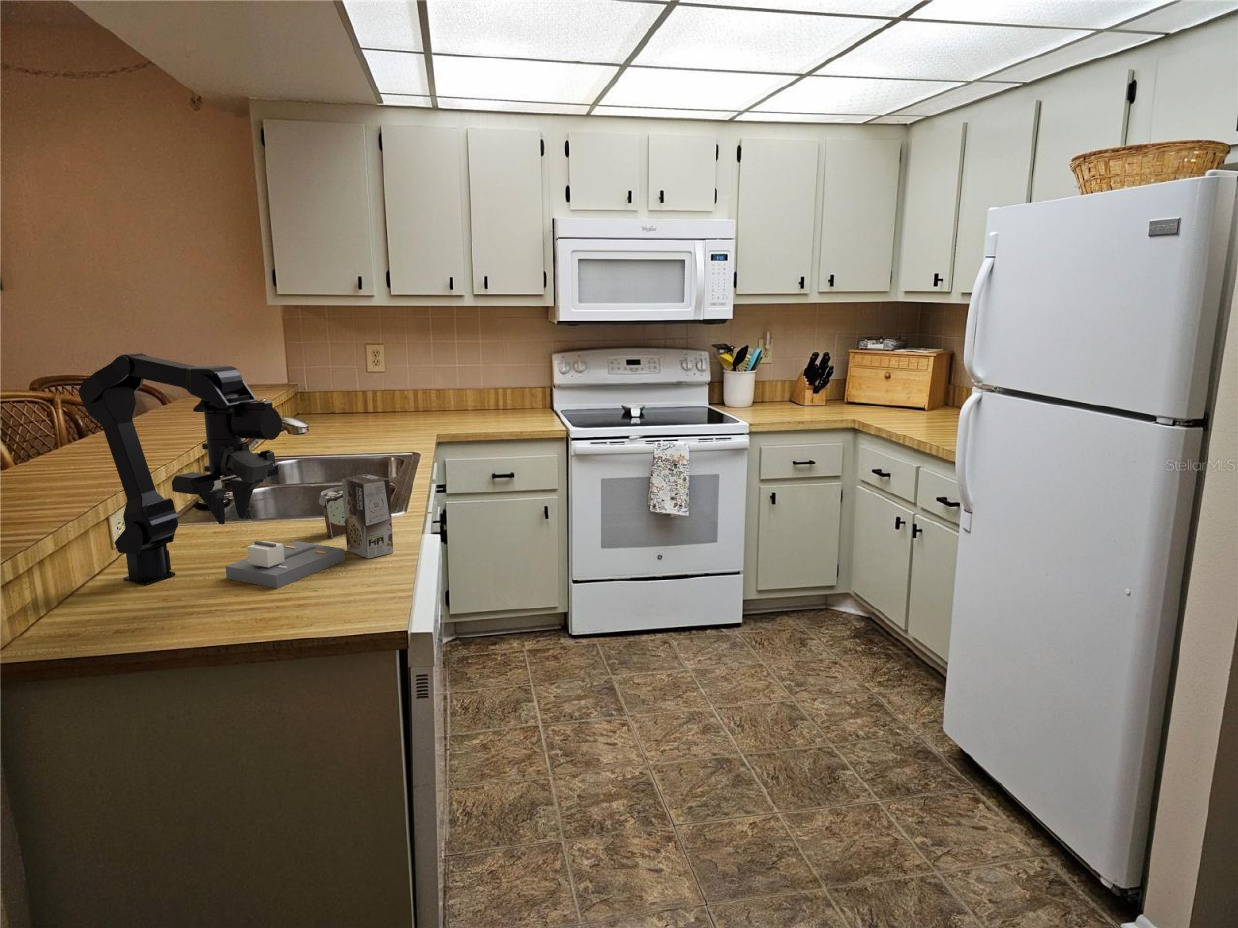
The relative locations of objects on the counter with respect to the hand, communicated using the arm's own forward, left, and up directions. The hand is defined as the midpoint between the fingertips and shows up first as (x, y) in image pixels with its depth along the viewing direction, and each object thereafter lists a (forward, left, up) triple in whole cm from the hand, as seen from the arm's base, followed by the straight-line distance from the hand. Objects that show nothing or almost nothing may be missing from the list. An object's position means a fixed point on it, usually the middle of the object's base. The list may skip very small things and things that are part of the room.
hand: (232, 521), depth 148 cm
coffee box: (+28, -7, -13) cm, 32 cm away
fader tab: (+7, 0, -10) cm, 12 cm away
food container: (+37, +9, -13) cm, 40 cm away
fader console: (+12, 0, -13) cm, 18 cm away
